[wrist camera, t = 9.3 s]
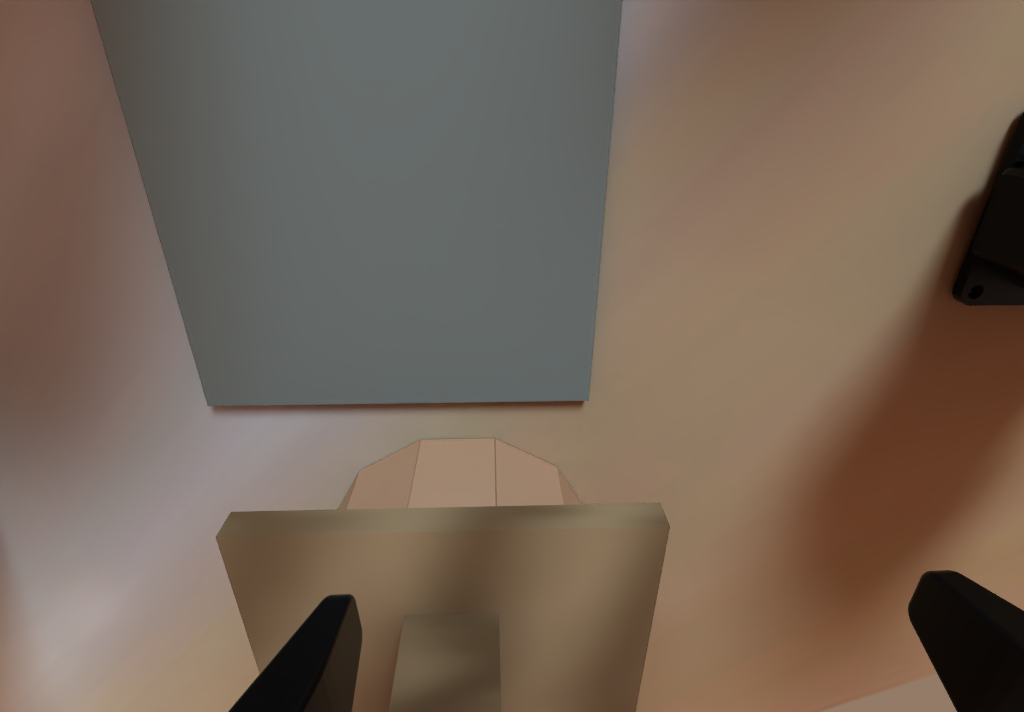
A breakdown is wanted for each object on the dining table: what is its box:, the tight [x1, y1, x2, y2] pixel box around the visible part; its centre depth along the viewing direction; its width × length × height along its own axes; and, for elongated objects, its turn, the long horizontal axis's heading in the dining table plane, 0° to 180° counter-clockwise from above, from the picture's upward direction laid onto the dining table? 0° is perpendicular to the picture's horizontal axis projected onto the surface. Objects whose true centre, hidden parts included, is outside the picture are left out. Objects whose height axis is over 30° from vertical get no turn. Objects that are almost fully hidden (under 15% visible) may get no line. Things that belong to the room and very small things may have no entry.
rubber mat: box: [91, 0, 622, 406], centre depth 17 cm, size 14×14×1 cm
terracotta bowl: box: [338, 439, 582, 510], centre depth 21 cm, size 11×11×5 cm
